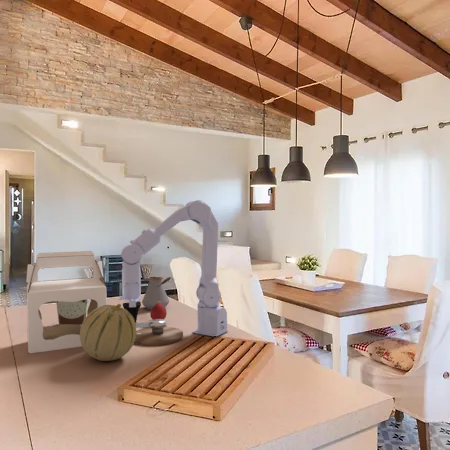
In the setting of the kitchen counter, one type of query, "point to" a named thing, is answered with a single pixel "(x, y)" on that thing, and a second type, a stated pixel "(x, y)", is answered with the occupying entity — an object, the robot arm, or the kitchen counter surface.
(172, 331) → the base
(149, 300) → the coffee pot
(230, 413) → the kitchen counter surface
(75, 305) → the food container
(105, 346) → the cantaloupe
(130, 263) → the robot arm
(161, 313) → the onion
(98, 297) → the gable box
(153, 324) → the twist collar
